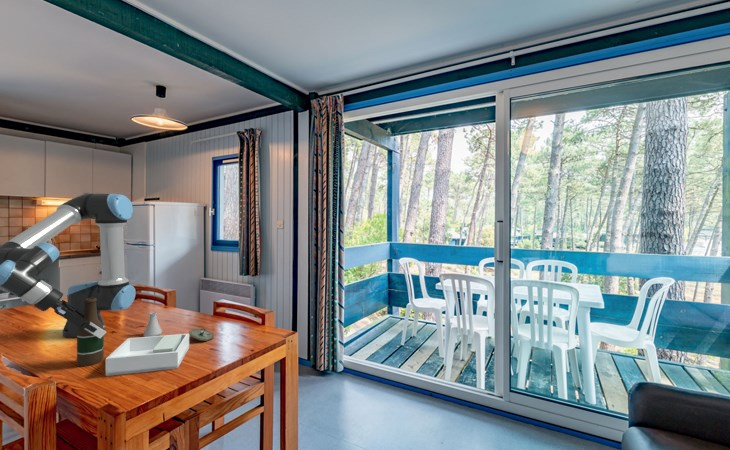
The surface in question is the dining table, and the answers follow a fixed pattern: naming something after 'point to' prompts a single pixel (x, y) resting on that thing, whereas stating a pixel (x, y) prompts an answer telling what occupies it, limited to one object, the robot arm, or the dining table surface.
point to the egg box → (168, 344)
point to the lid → (201, 334)
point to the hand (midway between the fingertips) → (102, 332)
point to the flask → (152, 326)
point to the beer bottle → (90, 338)
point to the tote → (144, 356)
